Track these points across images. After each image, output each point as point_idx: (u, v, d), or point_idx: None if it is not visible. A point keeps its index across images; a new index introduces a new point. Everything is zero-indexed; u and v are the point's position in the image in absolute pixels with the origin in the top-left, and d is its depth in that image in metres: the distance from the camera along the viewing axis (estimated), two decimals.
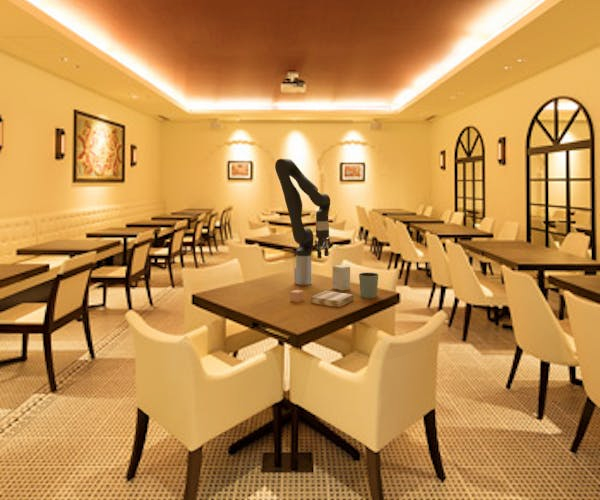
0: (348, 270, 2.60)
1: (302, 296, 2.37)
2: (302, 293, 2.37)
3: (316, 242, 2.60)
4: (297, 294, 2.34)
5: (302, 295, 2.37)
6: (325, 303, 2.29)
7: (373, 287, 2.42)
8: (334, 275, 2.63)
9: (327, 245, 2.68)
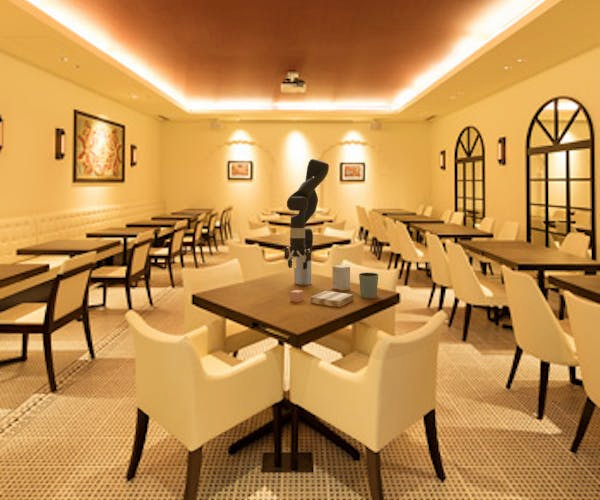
0: (348, 270, 2.60)
1: (302, 296, 2.37)
2: (302, 293, 2.37)
3: (309, 251, 2.30)
4: (297, 294, 2.34)
5: (302, 295, 2.37)
6: (325, 303, 2.29)
7: (373, 287, 2.42)
8: (334, 275, 2.63)
9: None
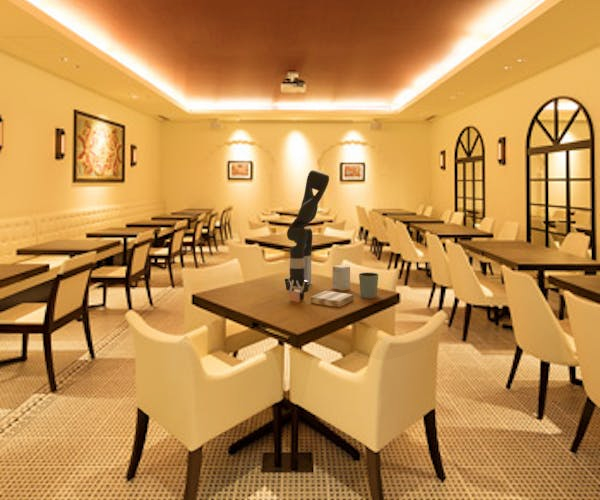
0: (348, 270, 2.60)
1: None
2: None
3: (307, 283, 2.32)
4: (297, 294, 2.34)
5: None
6: (325, 303, 2.29)
7: (373, 287, 2.42)
8: (334, 275, 2.63)
9: None
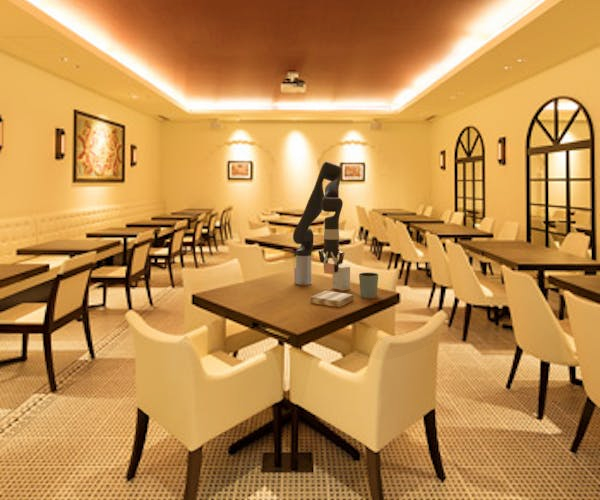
0: (348, 270, 2.60)
1: None
2: None
3: (342, 255, 2.28)
4: (331, 265, 2.30)
5: None
6: (325, 303, 2.29)
7: (373, 287, 2.42)
8: (334, 275, 2.63)
9: None
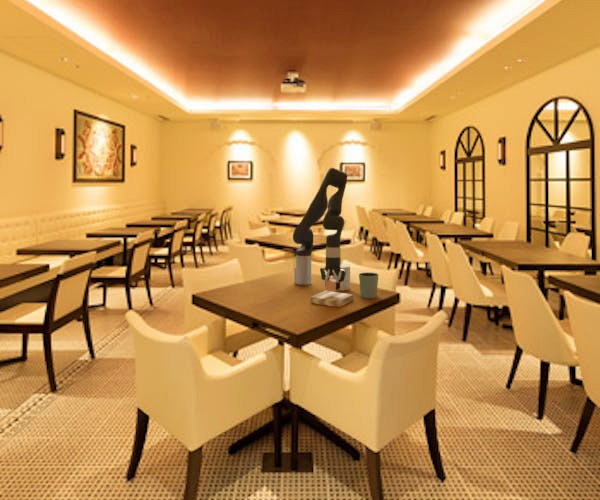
0: (348, 270, 2.60)
1: None
2: None
3: (344, 273, 2.30)
4: (333, 283, 2.31)
5: None
6: (325, 303, 2.29)
7: (373, 287, 2.42)
8: None
9: None
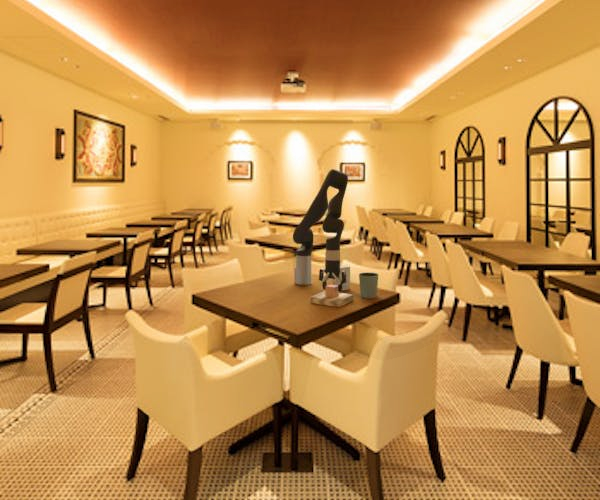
0: (348, 270, 2.60)
1: (337, 291, 2.35)
2: (337, 288, 2.35)
3: (344, 273, 2.30)
4: (333, 289, 2.32)
5: (337, 290, 2.35)
6: (325, 303, 2.29)
7: (373, 287, 2.42)
8: None
9: None
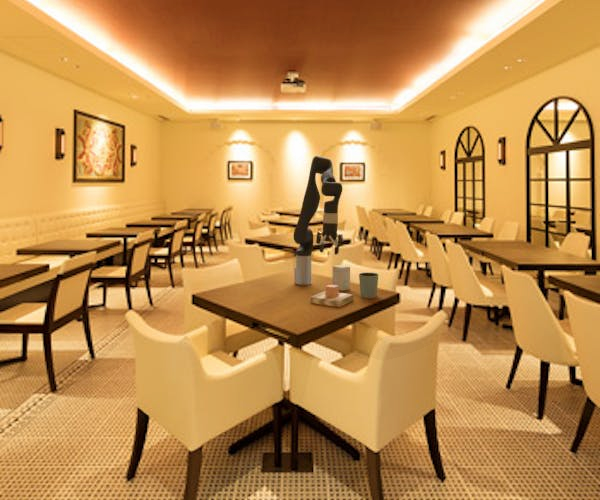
0: (348, 270, 2.60)
1: (337, 291, 2.35)
2: (337, 288, 2.35)
3: (341, 236, 2.33)
4: (333, 289, 2.32)
5: (337, 290, 2.35)
6: (325, 303, 2.29)
7: (373, 287, 2.42)
8: (334, 275, 2.63)
9: None
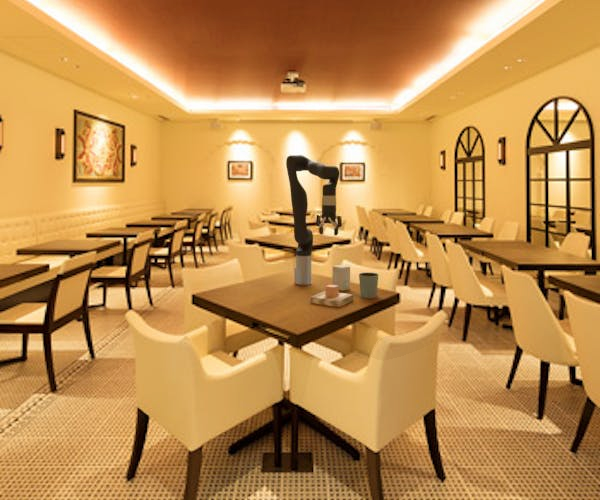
0: (348, 270, 2.60)
1: (337, 291, 2.35)
2: (337, 288, 2.35)
3: (340, 218, 2.43)
4: (333, 289, 2.32)
5: (337, 290, 2.35)
6: (325, 303, 2.29)
7: (373, 287, 2.42)
8: (334, 275, 2.63)
9: None
